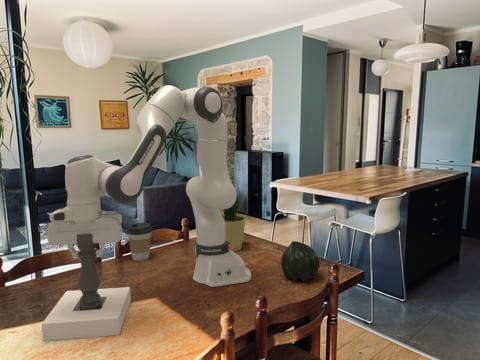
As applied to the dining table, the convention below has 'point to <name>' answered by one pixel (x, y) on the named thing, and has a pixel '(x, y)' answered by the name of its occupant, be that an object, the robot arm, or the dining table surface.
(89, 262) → the candle holder
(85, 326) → the socket block
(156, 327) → the dining table surface
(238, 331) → the dining table surface
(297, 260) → the squash
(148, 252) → the coffee cup
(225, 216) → the potted cactus
